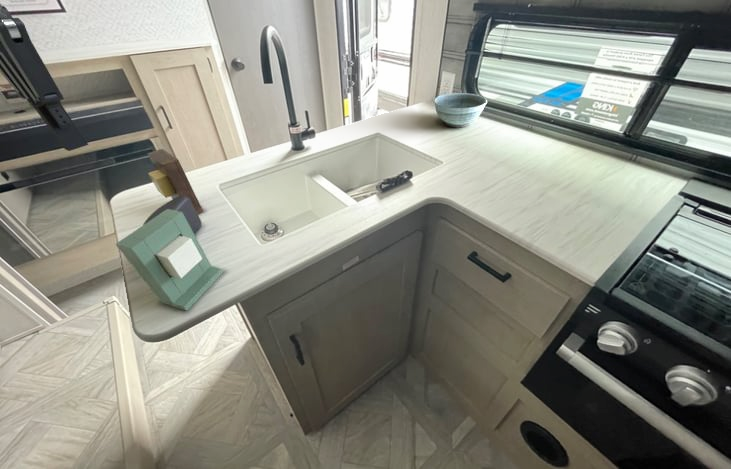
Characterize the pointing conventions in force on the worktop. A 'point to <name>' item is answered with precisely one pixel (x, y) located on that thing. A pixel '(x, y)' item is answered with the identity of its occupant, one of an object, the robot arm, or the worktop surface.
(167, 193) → the brass switch
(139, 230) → the pale green angular block
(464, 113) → the bowl
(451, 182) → the worktop surface
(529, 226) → the worktop surface
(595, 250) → the worktop surface
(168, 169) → the brown switch panel
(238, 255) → the worktop surface
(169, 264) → the protruding squarish ivory block
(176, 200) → the leaning round-cornered charcoal block
